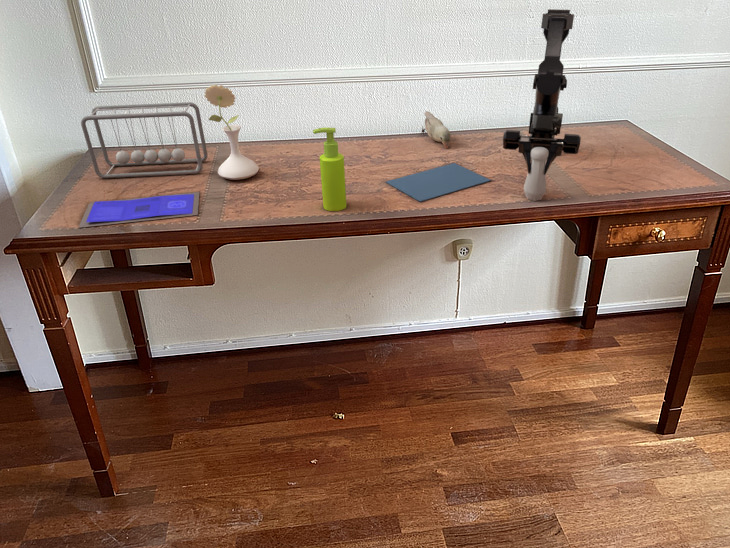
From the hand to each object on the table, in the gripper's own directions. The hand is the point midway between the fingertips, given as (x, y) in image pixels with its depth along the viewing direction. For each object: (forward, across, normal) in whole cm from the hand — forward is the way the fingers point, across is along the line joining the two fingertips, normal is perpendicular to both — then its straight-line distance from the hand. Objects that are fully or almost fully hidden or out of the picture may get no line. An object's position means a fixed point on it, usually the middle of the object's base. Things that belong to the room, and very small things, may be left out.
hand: (536, 173), depth 151 cm
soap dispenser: (+16, -49, -6) cm, 52 cm away
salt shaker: (+4, 0, +6) cm, 7 cm away
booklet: (+25, -96, -15) cm, 100 cm away
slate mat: (+1, -26, +10) cm, 28 cm away
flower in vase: (+6, -83, +4) cm, 83 cm away
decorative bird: (-22, -33, +33) cm, 52 cm away
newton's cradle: (+7, -109, +3) cm, 109 cm away
